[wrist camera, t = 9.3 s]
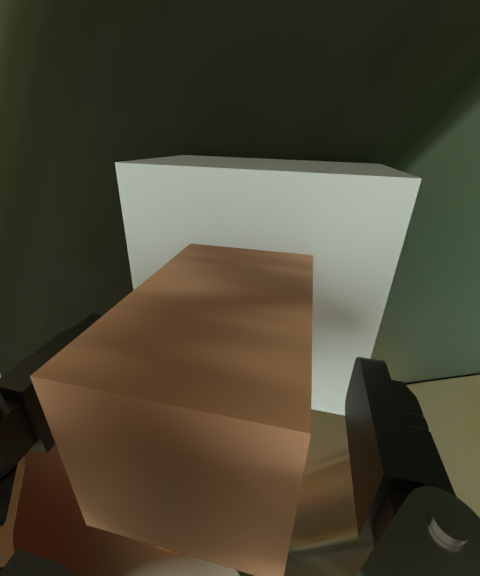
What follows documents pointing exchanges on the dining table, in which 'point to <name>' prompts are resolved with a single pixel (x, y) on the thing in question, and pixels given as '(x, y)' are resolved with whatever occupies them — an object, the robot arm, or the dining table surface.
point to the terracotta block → (193, 407)
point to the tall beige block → (455, 431)
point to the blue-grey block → (282, 236)
